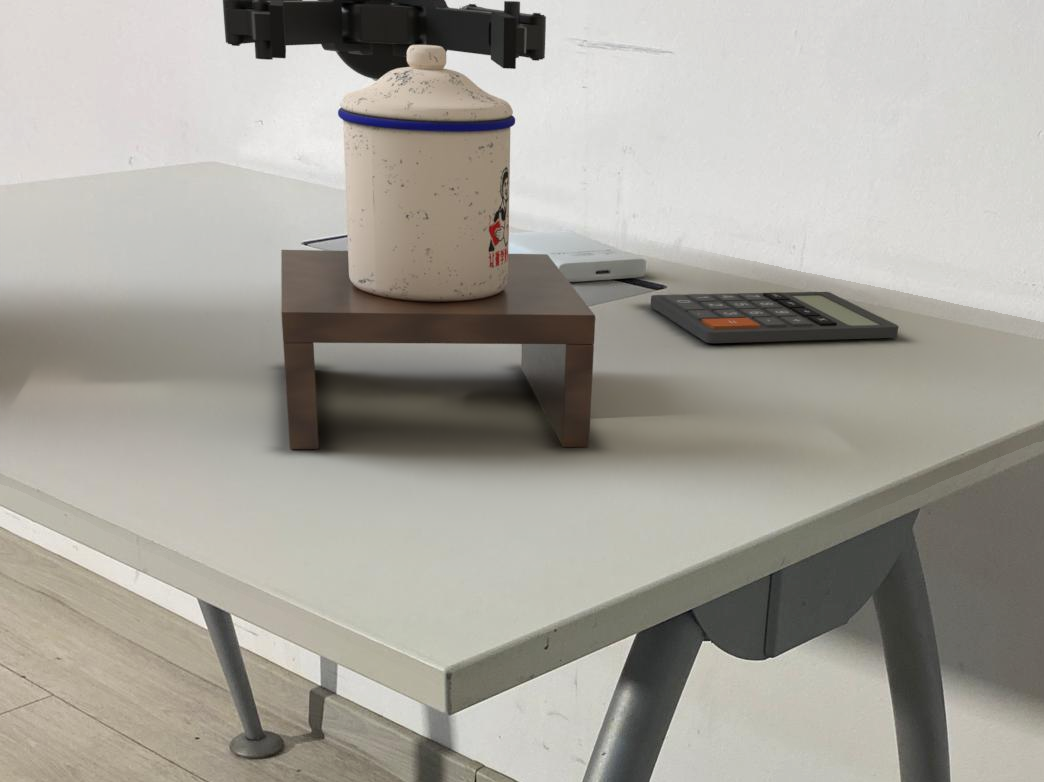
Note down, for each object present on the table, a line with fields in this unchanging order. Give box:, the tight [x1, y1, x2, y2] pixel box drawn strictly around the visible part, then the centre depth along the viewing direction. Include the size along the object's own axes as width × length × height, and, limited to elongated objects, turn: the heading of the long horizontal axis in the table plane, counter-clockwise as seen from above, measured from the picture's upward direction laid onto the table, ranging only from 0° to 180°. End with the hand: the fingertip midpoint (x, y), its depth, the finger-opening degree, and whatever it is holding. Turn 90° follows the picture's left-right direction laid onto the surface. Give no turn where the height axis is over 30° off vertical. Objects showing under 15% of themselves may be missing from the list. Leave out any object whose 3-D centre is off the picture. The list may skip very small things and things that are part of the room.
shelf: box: [280, 249, 596, 450], centre depth 81 cm, size 16×16×7 cm
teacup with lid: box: [337, 45, 516, 302], centre depth 76 cm, size 12×9×12 cm
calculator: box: [649, 291, 900, 344], centre depth 105 cm, size 12×1×15 cm
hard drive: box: [508, 230, 647, 283], centre depth 120 cm, size 2×8×12 cm
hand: (395, 37), depth 84 cm, fingers open, 13 cm apart
